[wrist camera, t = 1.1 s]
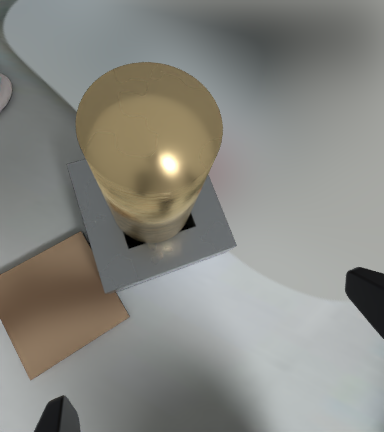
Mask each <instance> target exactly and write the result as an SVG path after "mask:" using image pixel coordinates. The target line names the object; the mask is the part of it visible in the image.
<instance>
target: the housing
mask: <svg viewBox="0 0 384 432" xmlns="http://www.w3.org/2000/svg"><path fill="white" fill-rule="evenodd" d="M67 167H68V171H69V174H70V177H71V181H72V184H73V188H74V191H75V194H76V198H77V201H78V204H79V208H80V211H81V214H82V218H83V221H84V225H85V228H86V231H87V235H88V238H89V241H90V245H91V248H92V252H93V255H94V258H95V262H96V265H97V268H98V272H99V275H100V278H101V282H102V285H103V289H104V292H105V294H111V293H114V292H118V291H121V290H124V289H126V288H129V287H132V286H135V285H137V284H140V283H143V282H146V281H148V280H151V279H154V278H157V277H159V276H162V275H165V274H168V273H170V272H173V271H176V270H179V269H181V268H184V267H187V266H190V265H192V264H195V263H198V262H201V261H203V260H206V259H209V258H212V257H214V256H217V255H220V254H223V253H225V252H227V251H229V250H231V249H232V248H234V247H235V246H236V242H235V240H234V238H233V235H232V232H231V230H230V228H229V225H228V223H227V220H226V218H225V215H224V213H223V210H222V208H221V205H220V203H219V200H218V198H217V195H216V193H215V190H214V188H213V185H212V183H211V180H210V178H209V175H208V176H207V178H206V180H205V182H204V184H203V186H202V189H201V191H200V193H199V195H198V197H197V200H196V202H195V204H194V206H193V208H192V211H191V213H190V215H189V217H188V219H187V222H186V224H187V226H188V229H187V230H184V231H181V232H178V233H177V234H176V235H175V236H173V237H172V238H170V239H168V240H166V241H163V242H158V243H145V244H142V245H139V246H136V247H133V248H130V249H129V246H128V243H127V240H126V237H125V234H124V232H123V231H122V230H121V229H120V228H119V226H118V225H117V223H116V221H115V219H114V217H113V215H112V212H111V210H110V208H109V206H108V204H107V202H106V200H105V198H104V196H103V194H102V192H101V190H100V187H99V185H98V183H97V181H96V179H95V177H94V175H93V173H92V171H91V169H90V167H89V164H88V162H87V160H86V159H84V160H80V161H77V162H73V163H69V164H67Z"/></svg>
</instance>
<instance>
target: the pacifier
mask: <svg viewBox="0 0 384 432" xmlns="http://www.w3.org/2000/svg"><path fill="white" fill-rule="evenodd" d="M11 94H12V83H11V82H10V80H9V78H7V77H6V76H4V75H3V74H1V73H0V111H1V110H2V109H3V108H4V107H5V106H6V105H7V103H8V101H9V100H10V97H11Z"/></svg>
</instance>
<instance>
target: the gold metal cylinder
mask: <svg viewBox="0 0 384 432" xmlns="http://www.w3.org/2000/svg"><path fill="white" fill-rule="evenodd" d="M76 134H77V139H78V142H79V145H80V148H81V150H82V152H83V154H84V156H85V158H86V160H87V162H88V164H89V167H90V169H91V171H92V173H93V175H94V177H95V179H96V181H97V183H98V185H99V187H100V190H101V192H102V194H103V196H104V198H105V200H106V202H107V204H108V206H109V208H110V210H111V212H112V215H113V217H114V219H115V221H116V223H117V225H118V226H119V228H120V229H121V230H122V231H123V232H124V233H125V234H126V235H128V236H129V237H131V238H132V239H135V240H137V241H140V242H145V243H158V242H163V241H166V240H168V239H170V238H172V237H173V236H175V235H176V234H177V233H178V232H180V230H181V229H182V228H183V227H184V225H185V224H186V222H187V219H188V217H189V215H190V213H191V211H192V208H193V206H194V204H195V202H196V200H197V197H198V195H199V193H200V191H201V189H202V186H203V184H204V182H205V180H206V178H207V176H208V173H209V171H210V169H211V167H212V164H213V162H214V160H215V158H216V156H217V153H218V151H219V148H220V145H221V142H222V135H223V125H222V118H221V114H220V111H219V108H218V106H217V104H216V102H215V100H214V98H213V97H212V95H211V94H210V92H209V91H208V90H207V89H206V88H205V87H204V86H203V85H202V84H201V83H200V82H199V81H198V80H197V79H195V78H194V77H193V76H191V75H189V74H188V73H186V72H184V71H182V70H180V69H178V68H175V67H172V66H169V65H165V64H160V63H151V62H141V63H132V64H127V65H123V66H120V67H117V68H115V69H113V70H111V71H109V72H107V73H105V74H104V75H102V76H101V77H100V78H98V79H97V80H96V81H95V82H94V83H93V84H92V85H91V86H90V87H89V88H88V89H87V91H86V92H85V94H84V95H83V98H82V99H81V102H80V104H79V107H78V110H77V115H76Z"/></svg>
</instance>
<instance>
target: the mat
mask: <svg viewBox="0 0 384 432" xmlns="http://www.w3.org/2000/svg"><path fill="white" fill-rule="evenodd" d="M129 317H130V316H129V314H128V313H127V311H126V309H125V307H124V305H123V304H122V302H121V300H120V298H119V297H118V295H117V293H116V292H114V293H111V294H105V292H104V289H103V285H102V282H101V278H100V275H99V272H98V268H97V265H96V262H95V258H94V255H93V252H92V249H91V247H90V245H89V243H88V242H87V240H86V238H85V236H84V235H83V233H82V232H81V231H80V232H79V233H77V234H75V235H73V236H71V237H69V238H67V239H66V240H64V241H62V242H60V243H58V244H56V245H54V246H53V247H51V248H49V249H47V250H45V251H43V252H42V253H40V254H38V255H36V256H34V257H32V258H30V259H29V260H27V261H25V262H23V263H21V264H19V265H18V266H16V267H14V268H12V269H10V270H8V271H6V272H5V273H3V274H1V275H0V319H1V321H2V323H3V325H4V327H5V329H6V331H7V333H8V335H9V337H10V340H11V342H12V344H13V346H14V348H15V350H16V352H17V354H18V356H19V358H20V360H21V362H22V364H23V366H24V368H25V370H26V372H27V374H28V376H29V378H30V380H32V379H34V378H35V377H37V376H38V375H40V374H41V373H43V372H45V371H46V370H48V369H49V368H51V367H52V366H54V365H55V364H57V363H59V362H60V361H62V360H63V359H65V358H66V357H68V356H70V355H71V354H73V353H74V352H76V351H77V350H79V349H80V348H82V347H84V346H85V345H87V344H88V343H90V342H91V341H93V340H94V339H96V338H98V337H99V336H101V335H102V334H104V333H105V332H107V331H108V330H110V329H112V328H113V327H115V326H116V325H118V324H119V323H121V322H122V321H124V320H126V319H127V318H129Z"/></svg>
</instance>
